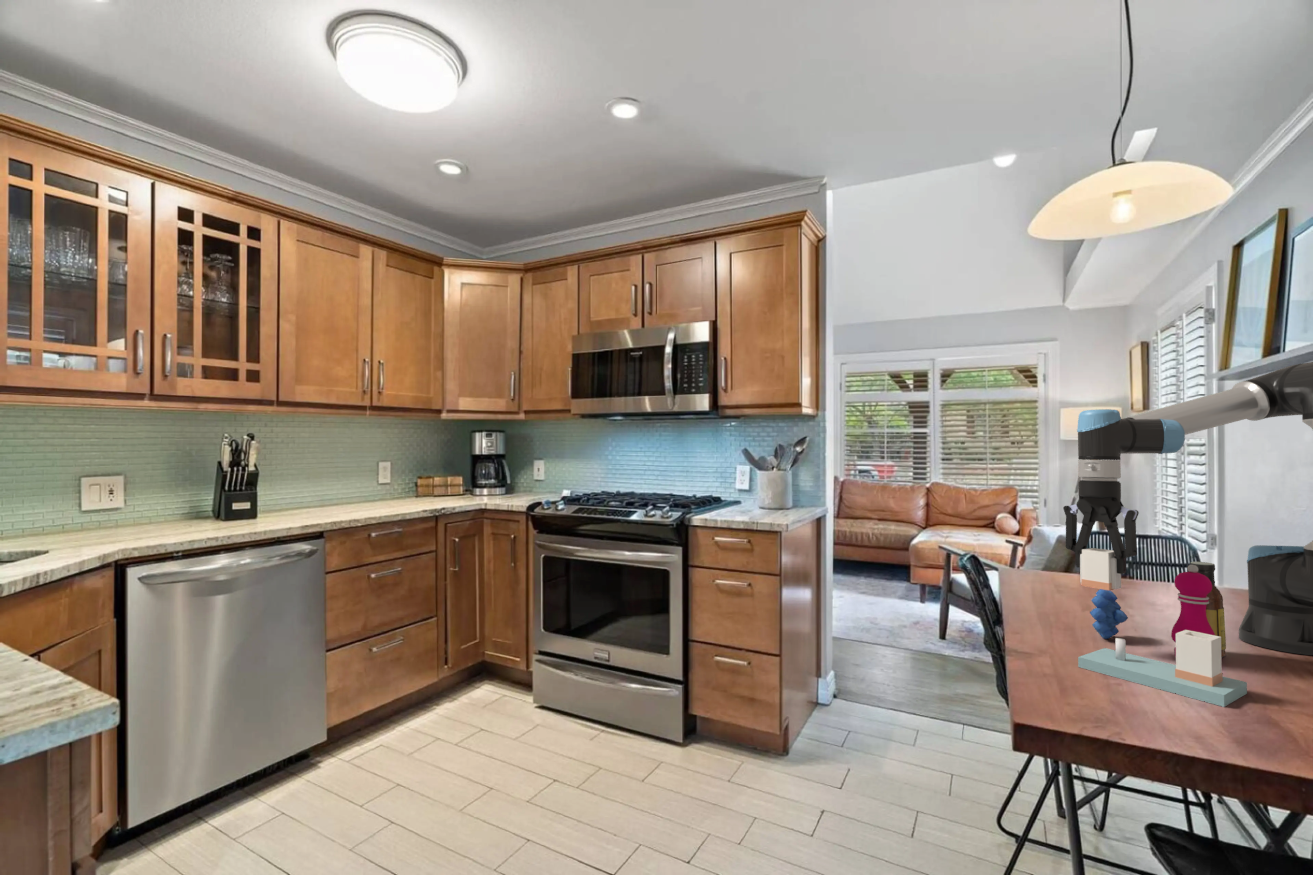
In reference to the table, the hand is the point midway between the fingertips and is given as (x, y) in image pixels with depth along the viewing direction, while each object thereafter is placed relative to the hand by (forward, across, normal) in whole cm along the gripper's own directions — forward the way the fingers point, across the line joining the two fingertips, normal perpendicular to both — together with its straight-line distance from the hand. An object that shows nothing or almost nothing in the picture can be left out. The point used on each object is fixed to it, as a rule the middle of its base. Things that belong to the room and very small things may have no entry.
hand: (1100, 585), depth 130 cm
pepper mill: (+15, +12, +13) cm, 23 cm away
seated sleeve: (+13, +19, -9) cm, 24 cm away
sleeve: (0, 0, 0) cm, 0 cm away
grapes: (+15, -3, +13) cm, 20 cm away
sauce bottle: (+15, +12, +20) cm, 28 cm away
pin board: (+15, +13, -9) cm, 21 cm away
